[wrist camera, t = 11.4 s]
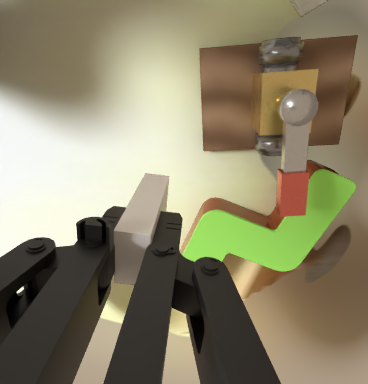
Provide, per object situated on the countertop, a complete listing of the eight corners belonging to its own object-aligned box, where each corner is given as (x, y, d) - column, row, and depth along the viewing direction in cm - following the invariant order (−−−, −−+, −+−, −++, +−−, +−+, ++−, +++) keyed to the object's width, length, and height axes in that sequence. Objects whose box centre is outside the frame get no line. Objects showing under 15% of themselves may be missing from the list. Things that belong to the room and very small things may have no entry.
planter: (251, 296, 54) (257, 320, 49) (170, 266, 52) (166, 288, 47) (340, 170, 42) (360, 184, 37) (237, 126, 40) (243, 134, 35)
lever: (277, 90, 28) (282, 91, 26) (313, 86, 27) (320, 87, 26) (273, 210, 33) (277, 217, 32) (302, 208, 33) (308, 215, 31)
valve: (252, 44, 35) (269, 33, 26) (299, 40, 34) (333, 28, 25) (249, 148, 40) (262, 169, 31) (289, 146, 40) (314, 166, 31)
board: (199, 49, 36) (199, 48, 35) (351, 36, 34) (357, 35, 33) (203, 148, 42) (203, 151, 40) (334, 141, 40) (338, 144, 39)
